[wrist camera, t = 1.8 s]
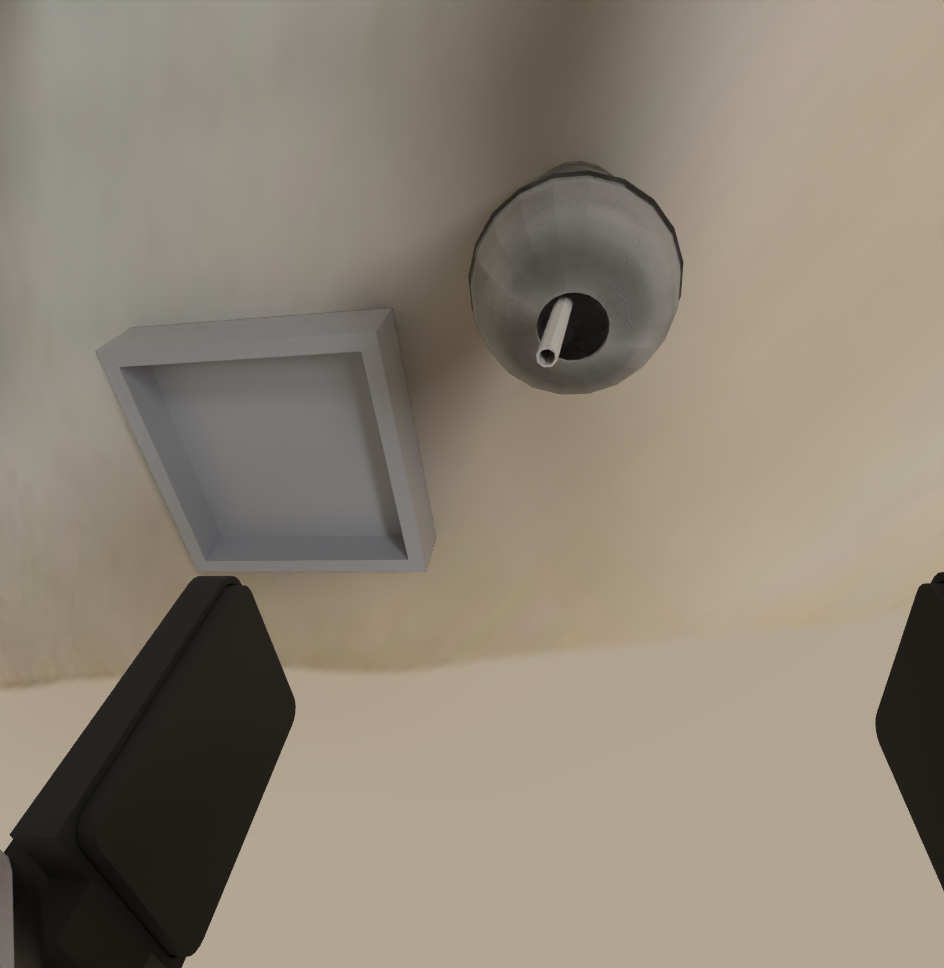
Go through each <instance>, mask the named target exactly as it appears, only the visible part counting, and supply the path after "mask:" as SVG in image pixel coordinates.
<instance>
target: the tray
mask: <svg viewBox="0 0 944 968" xmlns="http://www.w3.org/2000/svg"><path fill="white" fill-rule="evenodd" d="M95 352H96V354H97V357H98V359H99V361H100V363H101V365H102V367H103V370H104V372H105V374H106V376H107V378H108V380H109V383H110V385H111V387H112V389H113V391H114V393H115V396H116V398H117V400H118V402H119V404H120V406H121V408H122V411H123V413H124V415H125V417H126V419H127V421H128V424H129V426H130V428H131V430H132V432H133V434H134V437H135V439H136V441H137V443H138V445H139V447H140V450H141V452H142V454H143V456H144V458H145V460H146V462H147V465H148V467H149V469H150V471H151V473H152V475H153V478H154V480H155V482H156V484H157V486H158V488H159V491H160V493H161V495H162V497H163V499H164V501H165V504H166V506H167V508H168V510H169V512H170V514H171V517H172V519H173V521H174V523H175V525H176V527H177V529H178V532H179V534H180V536H181V538H182V540H183V542H184V545H185V547H186V549H187V551H188V553H189V555H190V558H191V560H192V562H193V564H194V566H195V568H196V571H197V572H426V571H427V568H428V564H429V560H430V557H431V553H432V550H433V546H434V543H435V539H436V535H435V529H434V524H433V519H432V514H431V509H430V503H429V498H428V493H427V488H426V483H425V477H424V472H423V467H422V462H421V456H420V451H419V446H418V441H417V436H416V430H415V425H414V420H413V415H412V410H411V404H410V399H409V394H408V389H407V384H406V378H405V373H404V368H403V363H402V358H401V352H400V347H399V342H398V337H397V331H396V326H395V321H394V316H393V311H392V308H383V309H370V310H357V311H344V312H331V313H318V314H305V315H292V316H279V317H266V318H253V319H240V320H227V321H214V322H201V323H188V324H175V325H162V326H149V327H136V328H130V329H128V330H127V331H125V332H124V333H122V334H121V335H119V336H118V337H116V338H115V339H113V340H112V341H110V342H109V343H107V344H105V345H104V346H102V347H101V348H99V349H98V350H96V351H95Z"/></svg>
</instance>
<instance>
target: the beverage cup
mask: <svg viewBox="0 0 944 968" xmlns="http://www.w3.org/2000/svg"><path fill="white" fill-rule="evenodd" d="M682 272H683V259H682V255H681V251H680V248H679V244H678V240H677V236H676V233H675V229H674V227H673V226H672V224H671V223H670V221H669V220H668V219H667V217H666V216H665V214H664V213H663V211H662V210H661V209H660V207H659V206H658V204H657V203H656V201H655V200H654V199H653V198H651V197H650V196H648V195H647V194H645V193H644V192H642V191H641V190H640V189H638V188H637V187H635V186H634V185H632V184H631V183H629V182H628V181H627V180H625V179H622V178H618V177H614V176H612V175H611V174H610V173H608V172H607V171H605V170H604V169H602V168H601V167H599V166H597V165H594V164H590V163H586V162H582V161H579V162H568V163H564V164H562V165H560V166H558V167H556V168H553V169H551V170H549V171H548V172H547V173H546V174H545V175H543V176H542V177H541V178H540V179H539V180H537V181H535V182H533V183H531V184H529V185H526V186H524V187H522V188H520V189H518V190H517V191H516V192H515V193H514V194H513V195H512V196H511V197H510V198H509V199H507V200H506V201H505V202H504V203H503V204H502V205H501V206H500V207H499V208H498V209H496V210H495V211H494V212H493V213H492V215H491V217H490V219H489V220H488V222H487V224H486V226H485V227H484V229H483V231H482V233H481V234H480V236H479V238H478V240H477V241H476V243H475V248H474V252H473V257H472V262H471V267H470V272H469V285H470V294H471V304H472V310H473V313H474V319H475V322H476V325H477V327H478V329H479V331H480V333H481V336H482V338H483V340H484V342H485V345H486V347H487V349H488V350H489V351H490V352H491V354H492V355H493V356H494V357H495V358H496V359H497V360H498V361H499V362H500V364H501V365H502V366H503V367H504V368H505V369H506V370H507V371H508V372H509V373H510V374H512V375H513V376H515V377H517V378H518V379H520V380H522V381H523V382H525V383H527V384H528V385H530V386H532V387H533V388H537V389H541V390H545V391H549V392H553V393H557V394H586V393H592V392H595V391H598V390H601V389H604V388H607V387H610V386H613V385H616V384H618V383H620V382H621V381H623V380H624V379H626V378H627V377H628V376H630V375H631V374H633V373H634V372H636V371H637V370H639V369H640V368H642V367H643V366H644V365H645V364H646V362H647V361H648V360H649V359H650V357H651V356H652V355H653V354H654V353H655V351H656V350H657V349H658V348H659V347H660V345H661V344H662V343H663V342H664V340H665V338H666V336H667V333H668V331H669V328H670V326H671V323H672V321H673V318H674V316H675V314H676V311H677V308H678V303H679V299H680V297H681V286H682Z"/></svg>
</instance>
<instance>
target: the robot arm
mask: <svg viewBox="0 0 944 968" xmlns="http://www.w3.org/2000/svg"><path fill="white" fill-rule="evenodd" d="M295 708H296V707H295V699H294V696H293V694H292V691H291V689H290V686H289V684H288V682H287V679H286V676H285V674H284V671H283V669H282V666H281V664H280V661H279V659H278V656H277V654H276V652H275V649H274V647H273V644H272V642H271V639H270V637H269V634H268V632H267V629H266V627H265V624H264V622H263V619H262V617H261V614H260V612H259V609H258V607H257V604H256V602H255V600H254V597H253V595H252V592H251V590H250V589H249V588H248V587H247V586H242V584H241V583H240V581H239V580H238V579H237V578H236V577H234V576H198V577H196V578H194V579H193V580H192V581H191V582H190V583H189V584H188V585H187V587H186V588H185V590H184V591H183V592H182V594H181V595H180V597H179V598H178V599H177V601H176V602H175V604H174V605H173V606H172V608H171V609H170V611H169V612H168V613H167V615H166V616H165V618H164V619H163V620H162V622H161V623H160V625H159V626H158V627H157V629H156V630H155V632H154V633H153V634H152V636H151V637H150V639H149V640H148V641H147V643H146V644H145V646H144V647H143V649H142V650H141V651H140V653H139V654H138V656H137V657H136V658H135V660H134V661H133V663H132V664H131V665H130V667H129V668H128V670H127V671H126V672H125V674H124V675H123V677H122V678H121V679H120V681H119V682H118V684H117V685H116V686H115V688H114V689H113V691H112V692H111V694H110V695H109V696H108V698H107V699H106V700H105V702H104V703H103V705H102V706H101V707H100V709H99V710H98V712H97V713H96V715H95V716H94V717H93V719H92V720H91V721H90V723H89V724H88V726H87V727H86V728H85V730H84V731H83V733H82V734H81V735H80V737H79V738H78V740H77V741H76V742H75V744H74V745H73V747H72V748H71V749H70V751H69V752H68V754H67V755H66V756H65V758H64V759H63V761H62V762H61V764H60V765H59V766H58V768H57V769H56V770H55V772H54V773H53V775H52V776H51V778H50V779H49V780H48V782H47V783H46V785H45V786H44V787H43V789H42V790H41V792H40V793H39V794H38V796H37V797H36V799H35V800H34V801H33V803H32V804H31V805H30V807H29V808H28V810H27V811H26V812H25V814H24V815H23V817H22V818H21V819H20V821H19V822H18V824H17V825H16V826H15V828H14V829H13V831H12V832H11V833H10V836H11V837H12V838H13V840H12V842H11V843H10V845H9V846H8V847H7V849H6V850H5V852H4V853H3V852H2V851H1V850H0V968H182V965H183V963H184V961H185V958H186V957H188V956H191V955H193V954H194V953H195V952H196V951H197V949H198V947H200V945H201V943H202V941H203V939H204V937H205V934H206V931H207V929H208V927H209V924H210V922H211V920H212V917H213V915H214V912H215V910H216V908H217V905H218V902H219V900H220V898H221V895H222V893H223V890H224V888H225V886H226V883H227V881H228V879H229V876H230V873H231V871H232V869H233V866H234V864H235V862H236V859H237V857H238V854H239V852H240V849H241V847H242V845H243V842H244V840H245V837H246V835H247V832H248V830H249V828H250V825H251V823H252V820H253V818H254V816H255V813H256V811H257V808H258V806H259V804H260V801H261V799H262V796H263V794H264V792H265V789H266V787H267V784H268V782H269V779H270V777H271V775H272V772H273V770H274V767H275V765H276V763H277V760H278V758H279V755H280V753H281V750H282V748H283V746H284V743H285V741H286V738H287V736H288V734H289V731H290V729H291V726H292V724H293V721H294V716H295ZM876 733H877V737H878V740H879V743H880V746H881V748H882V751H883V753H884V755H885V757H886V760H887V762H888V764H889V767H890V769H891V771H892V773H893V775H894V778H895V780H896V782H897V785H898V787H899V790H900V792H901V794H902V796H903V799H904V801H905V803H906V806H907V808H908V810H909V812H910V815H911V817H912V819H913V821H914V824H915V826H916V828H917V831H918V833H919V835H920V838H921V840H922V842H923V844H924V847H925V849H926V851H927V854H928V856H929V858H930V860H931V863H932V865H933V867H934V870H935V872H936V874H937V876H938V879H939V881H940V883H941V886H942V888H943V890H944V572H941V573H938V574H937V575H935V576H934V578H933V580H932V582H931V583H926V584H922V585H921V586H920V587H919V589H918V591H917V593H916V596H915V599H914V602H913V605H912V608H911V611H910V614H909V617H908V620H907V624H906V627H905V629H904V632H903V636H902V639H901V642H900V645H899V648H898V651H897V654H896V657H895V660H894V663H893V666H892V669H891V672H890V675H889V678H888V681H887V684H886V687H885V690H884V693H883V696H882V699H881V702H880V705H879V708H878V711H877V714H876Z"/></svg>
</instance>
